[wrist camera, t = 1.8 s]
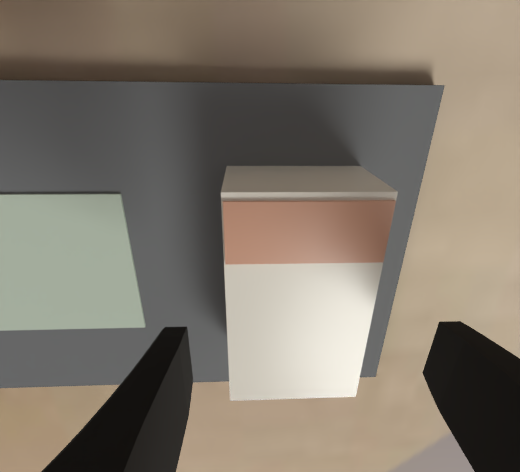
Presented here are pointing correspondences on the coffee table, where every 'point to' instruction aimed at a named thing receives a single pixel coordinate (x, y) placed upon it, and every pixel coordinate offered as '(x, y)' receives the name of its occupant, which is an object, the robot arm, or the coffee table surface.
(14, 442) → the coffee table surface
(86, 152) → the mat
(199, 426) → the coffee table surface
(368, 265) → the card box
